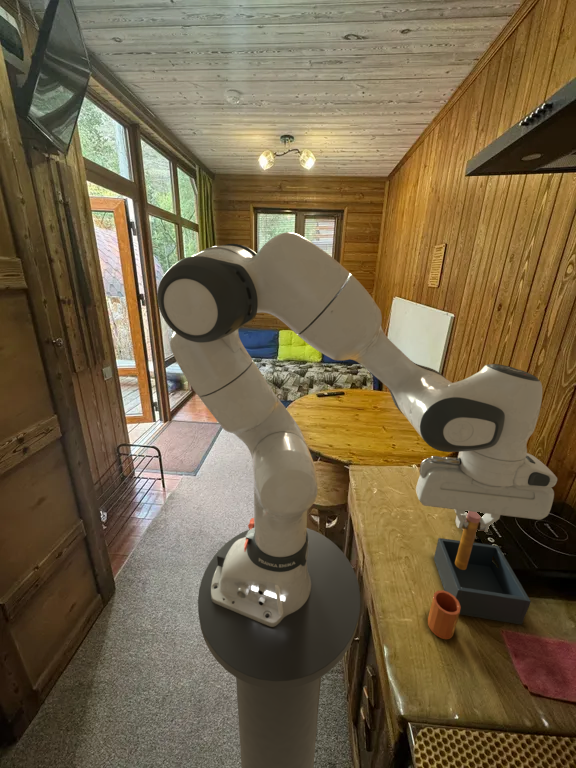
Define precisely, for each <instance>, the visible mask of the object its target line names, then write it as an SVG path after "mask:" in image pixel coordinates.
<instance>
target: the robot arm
mask: <svg viewBox="0 0 576 768" xmlns="http://www.w3.org/2000/svg"><path fill="white" fill-rule="evenodd" d="M156 298H157V305H158V309H159V312H160V314H161V317H162V319H163V320H164V321H165V323H166V325H167V326H168V327H169V328H170V329H171V330H172V331H173V332H172V335H171V337H170V340H169V345H170V350H171V352H172V354H173V357H174V359H175V361H176V363H177V364H178V366H179V368H180V370H181V372H182V374H183V375H184V377H185V379H186V381H187V382H188V384H189V385H190V387H191V388H192V389H193V391H194V392H195V394H196V395H197V396H198V398H199V399H200V400H201V401H202V404H203V405H204V406H205V407H206V408H207V410H208V411H209V412H210V414H211V415H212V416H213V418H214V419H215V420H216V422H217V423H218V425H219V426H220V427H221V428H222V429H223V430H224V431H225V432H227V433H230V434H232V435H235V436H236V437H237V438H238V439H239V440H240V441H241V442H243V444H244V445H245V446H246V447H247V449H248V450H249V451H248V452H249V453H250V457H251V459H252V469H253V471H252V472H253V517H252V518H250V519H249V523H248V525H247V527H248V530H249V529H250V530H249V531H248V532H247V535H246V537H244V538H241V539H238V540H237V541H236V542H235V543H234V544H233V545H232V544H228V543H227V542H225V543H224V544H223V545H222V547H223V548H222V549H221V551H220V552H219V554H218V555H217V561H218V566H217V569H216V571H215V574H214V576H213V580H212V584H211V599H212V602H214V603H215V604H218V605H220V606H222V607H225V608H227V609H229V610H232V611H234V612H237V613H239V614H241V615H244V616H246V617H248V618H251V619H253V620H256V621H258V622H260V623H263V624H265V625H268V626H270V627H274V626H276V625H277V624H279V623H280V622H281V620H282V619H283V618H284V617H285V616H287V615H289V614H291V613H293V612H295V611H297V610H298V609H299V608H301V607H302V606H303V605H304V603H305V602H306V601H307V599H308V597H309V595H310V591H311V579H310V576H309V573H308V569H307V562H306V561H307V557H308V534H307V531H306V529H307V528H308V510H309V509H310V508H311V507H312V506H313V505H314V503H315V502H316V500H317V496H318V474H317V467H316V465H315V462H314V460H313V457H312V454H311V452H310V449H309V447H308V444H307V441H306V439H305V436H304V433H303V430H302V429H301V427H300V426H299V425H298V422H296V420H295V419H294V417H293V416H292V415H291V413H290V412H289V410H288V409H287V408H286V406H285V405H284V404H283V403H282V401H280V399H279V398H278V397H277V394H275V392H274V391H273V389H272V387H271V386H270V384H269V383H268V381H267V379H266V378H265V377H264V375H263V373H262V372H261V370H260V369H259V367H258V366H257V364H256V363H255V361H254V360H253V358H252V357H251V355H250V354H249V352H248V350H247V349H246V347H245V346H244V344H243V342H242V340H241V338H240V334H239V329H240V328H242V327H243V326H245V325H247V324H248V323H250V322H251V321H253V320H254V319H255V318H256V316H257V314H259V313H265V314H269V315H271V316H273V317H274V318H277V319H278V320H279V321H280V322H282V323H283V324H284V325H286V326H287V327H288V328H289V329H290V330H291V331H292V332H293V333H294V334H296V335H297V336H298V338H300V339H302V340H303V341H304V342H305V343H306V344H308V345H309V346H310V347H312V348H313V349H314V350H316V351H317V352H319V353H320V354H322V355H324V356H326V357H328V358H330V359H332V360H334V361H349V360H352V361H354V362H355V363H358V364H359V365H361V366H362V367H363V368H365V369H366V370H367V371H369V373H371V374H372V375H373V376H374V377H375V378H376V379H377V380H379V381H380V382H381V383H382V384H383V385H384V386H385V387H386V388H387V389H388V390H389V393H390V396H391V399H392V401H393V404H394V406H395V408H396V409H397V410H398V411H399V412H400V413H401V414H402V415H403V416H404V417H405V418H406V420H407V422H409V423H410V425H411V426H412V428H413V429H414V430H415V431H416V433H417V434H418V436H420V438H421V439H422V440H423V441H424V442H425V443H426V445H428V446H429V447H431V448H432V449H434V450H437V451H439V452H444V453H458V455H457V457H450V456H440V455H431V456H430V457H427V458H425V459H423V460H422V461H421V463H420V467H419V477H418V479H417V482H416V487H415V493H416V496H417V499H418V501H419V502H420V503H421V505H422V506H424V507H431V508H440V509H448V510H453V511H454V513H455V515H456V516H455V520H454V521H455V525H456V527H457V529H461V530H462V529H467V528H468V527H467V526H468V525H469V521H468V520H467V518H466V516H465V515H461V514H465V511H472V512H480V513H483V514H484V515H483V516H482V517H481V518H480V522H479V525H478V529H477V530H478V531H484V532H488V529H489V526H490V525H491V524H493V523H494V522H495V523H496V522H497V521H498V520H500V518H501V516H506V517H514V518H522V519H530V520H538V521H540V520H541V521H542V520H543V519H545V518H546V517H548V516H549V515H550V512H551V510H552V506H553V502H554V498H555V491H554V489H553V488H554V487H555V486H556V485H557V482H558V477H557V476H556V474H554V472H553V471H552V470H551V469H550V468H549V467H548V466H547V465H546V464H544V463H543V461H541V460H540V459H538V458H537V457H536V456H534V455H532V454H531V453H528V449H527V447H528V446H527V445H528V441H529V439H530V437H531V436H532V435H533V434H534V432H535V430H536V426H537V423H538V419H539V416H540V411H541V408H542V401H543V385H542V382H541V381H540V379H538V377H537V376H535V375H534V374H531V373H530V372H527V371H525V370H522V369H518V368H515V367H513V366H509V365H504V364H500V363H499V364H498V363H489V364H485V365H484V366H483V367H482V368H481V369H480V371H478V372H476V373H474V374H472V375H471V376H469V377H467V378H464V379H461V380H458V381H454V382H452V381H450V380H449V379H447V378H446V377H445V376H444V375H443V374H442V373H440V372H439V371H438V370H436V369H434V368H431V367H428V366H425V365H421V364H419V363H416V362H414V361H413V360H412V359H410V358H409V356H407V355H406V354H405V353H404V352H403V351H402V350H400V349H399V347H398V346H396V345H395V344H394V342H393V341H392V340H391V339H389V338H388V336H387V335H386V334H385V332H384V330H383V328H382V319H383V317H382V311H381V309H380V307H379V306H378V304H377V303H376V301H375V299H373V297H372V296H371V294H370V293H369V292H368V291H367V289H366V288H365V287H364V285H363V284H361V282H360V280H358V279H357V278H356V277H355V276H354V275H353V274H352V273H351V272H350V271H349V270H348V269H346V268H345V267H344V265H342V264H341V263H340V262H339V261H337V260H336V259H335V258H334V257H332V256H331V255H330V254H328V252H326V251H324V250H323V249H322V248H321V247H319V246H318V245H316V244H315V243H313V242H312V241H310V240H309V239H307V238H306V237H304V236H302V235H300V234H299V233H296V232H292V231H291V232H290V231H287V232H282V233H279V234H277V235H275V236H273V237H272V238H270V239H269V240H267V242H265V243H264V244H263V246H262V247H261V248H260V249H259V251H258V252H257V253H256V251H254V250H253V249H252V248H250V247H248V246H245V245H242V244H238V243H226V244H223V245H214V246H211V247H206V248H204V249H202V250H200V251H199V252H197V253H195V254H193V255H191V256H187V257H184V258H182V259H180V260H178V261H177V262H176V263H174V264H172V266H171V267H170V268H168V270H167V271H166V272H165V274H163V276H162V277H161V280H160V282H159V284H158V287H157V297H156ZM214 588H217V589H214ZM266 616H269V618H266Z"/></svg>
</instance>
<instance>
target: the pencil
mask: <svg viewBox="0 0 576 768" xmlns="http://www.w3.org/2000/svg"><path fill="white" fill-rule="evenodd" d="M466 518H467V520H468V521H469V525H468V526H467V527H468V528H467V529H463V530H462V533H461V536H460V540H459V541H460V544H459V548H458V552H457V556H456V560H455V565H456V566H457V567H458V568H459V569H461V570H465V569H466V568H467V565H468V561H469V558H470V554H471V550H472V547H473V543H475V540H476V539H475V536H476V532H477V529H478V525H479V522H480V518H481V516H480V515H479V514H478V513H477V512H472V511H468V514H467V517H466Z"/></svg>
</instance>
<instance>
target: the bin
mask: <svg viewBox="0 0 576 768" xmlns="http://www.w3.org/2000/svg"><path fill="white" fill-rule="evenodd" d="M460 541H461V540H456V539H450V538H444V537H443V538H441V537H438V539H437V543H436V548H435V551H434V556H433V560H434V563H435V566H436V570H437V573H438V575H439V578H440V582H441V585H442V587H443V591H446V592H449V593H450V594H452V595H453V596H455V598H456V599H457V600H458V601H459V604H460V606H461V609H460V614H459V615H461V616H467V617H474V618H479V619H486V620H492V621H498V622H503V623H509V624H515V625H520V626H522V625H523V622H524V620H525V617H526V616H527V614H528V610H529V608H530V605H531V599H530V597H529V595H528V594H527V592H526V590H525V589H524V587H523V585H522V583H521V581H519V578H518V577H517V575H516V574H515V572H514V570H513V568H512V567H511V565H510V563H509V561H508V560H507V558H506V556H505V555H504V553H503V551H502V549H501V547H500V546H499V545H495V544H488V543H481V542H474V543H473V547H472V550H471V554H470V558H469V561H468V565H467V568H466V569H465V570H461V569H459V568H458V567H457V566H456V565H455V560H456V556H457V552H458V548H459V544H460ZM493 556H494V558H495V559H496V561H497V562H498V564H499V568H497V567H496V565H495V564H494V563H493V562H492V557H493Z"/></svg>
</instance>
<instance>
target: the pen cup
mask: <svg viewBox="0 0 576 768" xmlns="http://www.w3.org/2000/svg"><path fill="white" fill-rule="evenodd" d="M431 600H432V601H431V604H430V609H429V613H428V617H427V625H428V628H429V629H430V631H431V632H432V633H433V634H434V635H435V636H436V637H438V638H440V639H442V640H449V639H452V637H453V636H454V634H455V630H456V627H457V624H458V620H459V617H460V615H461V614H460V609H461V606H460V604H459V601H458V600H457V599H456V598H455V596H453V595H452V594H450V593H449V592H446V591H444V589H442V590H441V589H439V590H437V591H435V592H433V596H432V599H431Z"/></svg>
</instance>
